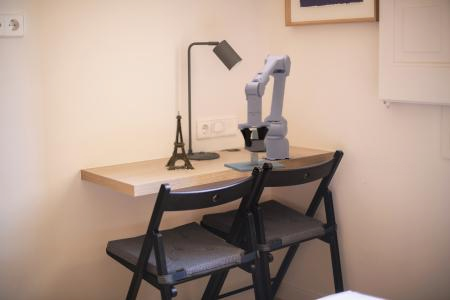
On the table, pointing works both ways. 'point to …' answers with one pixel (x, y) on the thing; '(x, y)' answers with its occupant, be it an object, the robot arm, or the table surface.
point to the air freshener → (255, 135)
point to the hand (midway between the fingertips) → (254, 146)
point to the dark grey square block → (255, 145)
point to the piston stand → (251, 164)
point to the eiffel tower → (177, 144)
